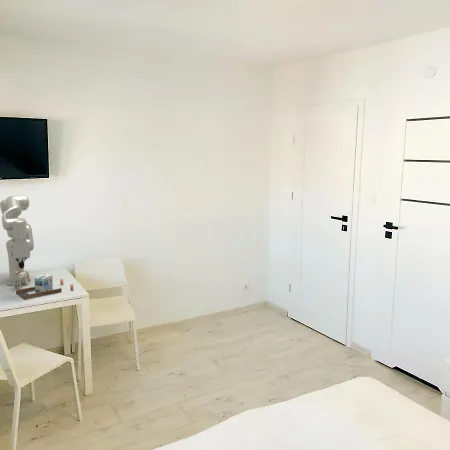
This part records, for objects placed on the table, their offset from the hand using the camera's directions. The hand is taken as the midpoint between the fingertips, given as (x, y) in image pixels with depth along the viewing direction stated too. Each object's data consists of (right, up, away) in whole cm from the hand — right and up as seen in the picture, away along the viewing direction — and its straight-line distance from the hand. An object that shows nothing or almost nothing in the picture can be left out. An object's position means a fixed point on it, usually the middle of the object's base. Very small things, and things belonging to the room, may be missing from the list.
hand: (21, 267), depth 291 cm
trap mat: (0, -18, +4) cm, 19 cm away
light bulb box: (+10, -17, +12) cm, 23 cm away
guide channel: (+7, -17, +10) cm, 21 cm away
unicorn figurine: (-7, -16, +21) cm, 27 cm away
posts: (+21, -16, +23) cm, 35 cm away
